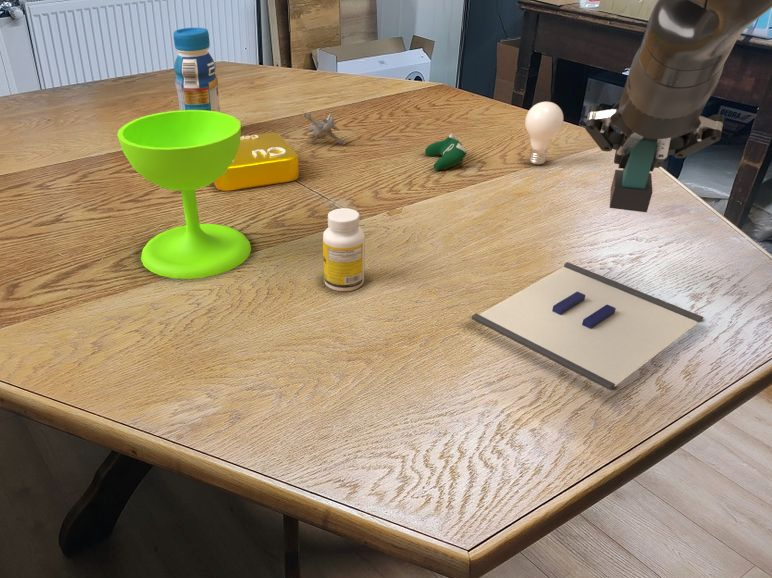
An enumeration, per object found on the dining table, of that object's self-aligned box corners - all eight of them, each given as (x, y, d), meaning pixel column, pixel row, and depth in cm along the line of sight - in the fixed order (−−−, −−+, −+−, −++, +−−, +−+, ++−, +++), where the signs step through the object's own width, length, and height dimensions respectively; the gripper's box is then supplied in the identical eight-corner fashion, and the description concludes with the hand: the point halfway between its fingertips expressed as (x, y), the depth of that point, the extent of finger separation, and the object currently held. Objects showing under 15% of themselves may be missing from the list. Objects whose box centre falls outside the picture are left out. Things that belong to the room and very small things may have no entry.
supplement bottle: (332, 269, 94) (331, 203, 88) (369, 276, 92) (371, 208, 87) (317, 288, 90) (316, 220, 84) (356, 295, 88) (357, 226, 83)
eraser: (646, 212, 78) (666, 143, 74) (609, 208, 79) (626, 140, 75) (645, 192, 83) (664, 126, 78) (610, 189, 84) (626, 123, 79)
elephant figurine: (340, 133, 141) (356, 130, 132) (325, 158, 141) (340, 156, 133) (301, 104, 137) (316, 98, 129) (286, 129, 137) (299, 126, 129)
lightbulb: (553, 159, 125) (565, 97, 119) (555, 172, 120) (568, 108, 114) (518, 157, 127) (527, 96, 120) (518, 169, 122) (528, 107, 115)
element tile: (278, 153, 132) (277, 128, 129) (302, 180, 120) (301, 154, 118) (202, 163, 128) (199, 138, 126) (218, 193, 117) (215, 166, 114)
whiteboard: (565, 272, 92) (567, 261, 91) (699, 328, 80) (703, 316, 79) (470, 326, 82) (471, 315, 81) (607, 399, 70) (611, 387, 69)
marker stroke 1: (575, 296, 84) (577, 291, 84) (584, 300, 84) (585, 294, 83) (551, 311, 82) (553, 305, 81) (560, 315, 81) (561, 309, 81)
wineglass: (273, 249, 99) (266, 125, 89) (185, 291, 90) (165, 159, 80) (205, 218, 109) (191, 103, 98) (119, 253, 100) (93, 130, 89)
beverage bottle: (174, 134, 143) (159, 31, 131) (207, 125, 147) (196, 24, 135) (197, 144, 137) (184, 37, 126) (231, 134, 142) (221, 29, 130)
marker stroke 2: (605, 309, 82) (606, 303, 81) (614, 313, 81) (616, 307, 81) (581, 325, 79) (583, 319, 79) (590, 329, 79) (592, 323, 78)
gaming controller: (446, 181, 123) (472, 157, 121) (433, 167, 121) (459, 142, 119) (435, 162, 130) (459, 140, 128) (422, 149, 129) (446, 126, 126)
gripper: (761, 48, 62) (707, 138, 79) (599, 40, 67) (579, 127, 83) (748, 123, 61) (696, 199, 78) (584, 111, 66) (568, 185, 82)
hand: (636, 162), depth 80 cm, fingers closed on eraser, 2 cm apart
